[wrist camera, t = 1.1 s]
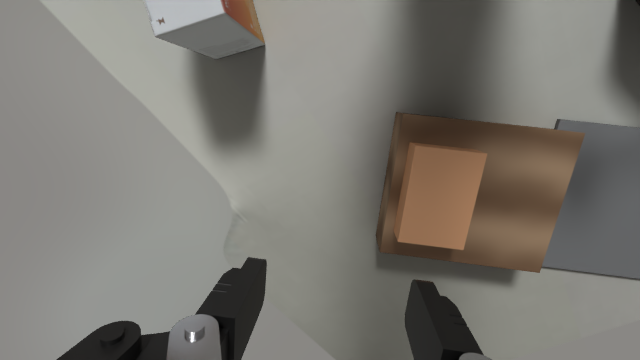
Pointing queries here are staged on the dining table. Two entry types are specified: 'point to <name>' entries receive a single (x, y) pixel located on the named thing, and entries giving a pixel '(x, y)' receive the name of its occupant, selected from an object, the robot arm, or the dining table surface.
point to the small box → (206, 25)
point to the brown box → (489, 188)
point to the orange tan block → (438, 195)
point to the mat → (600, 204)
